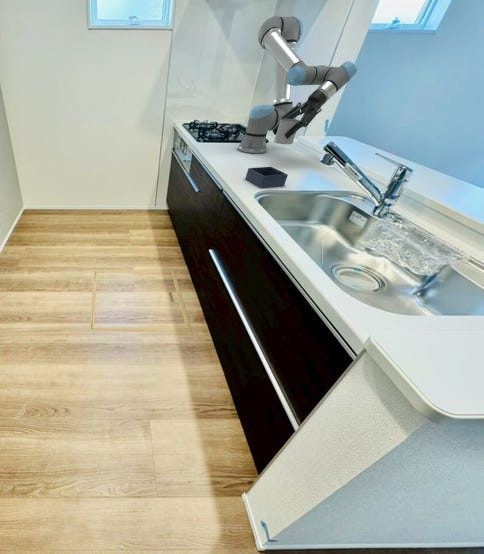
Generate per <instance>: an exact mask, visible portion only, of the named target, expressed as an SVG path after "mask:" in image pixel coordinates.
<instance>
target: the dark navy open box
mask: <svg viewBox="0 0 484 554" xmlns="http://www.w3.org/2000/svg"><path fill="white" fill-rule="evenodd" d="M288 176H289V174H288V173H286V172H283V171H282V170H279V169H277V168H275V167H273V166H259V167H248V168H247V171H246V175H245V180H246V181H248V182H249V183H250V184H253V185H255V186H256V187H258V188H260V189H265V188H275V187H284V186H285V184H286V182H287V179H288Z"/></svg>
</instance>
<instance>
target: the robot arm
mask: <svg viewBox="0 0 484 554" xmlns="http://www.w3.org/2000/svg"><path fill="white" fill-rule="evenodd" d="M303 32H304V23H303V20H302V19H301V18H300V17H297V16H296V17H295V16H277V15H275V16H272V17H269V18H267V19H266V20H264V22H263V23H262V24H261V25H260V28H259V29H258V32H257V40H258V44H259V45H260V47H261V48H262V49H263V50H267V51H268V53H269V54H270V56H272V57H273V59H274V73H273V90H272V91H273V92H272V103H270V104H259V105H256V106H253V107H252V108H251V111H250V114H249V116H248V120H247V126H246V130H245V132H244V136H243V138H242V140H241V142H240V144H238V151H240V152H242V153H246V154H263V153H266V150H267V135H268V132H272V133H273V135H274V136H276V133H277V130H278V126H279V123H280V120H281V119H297V117H298V116H302V117H301V118H300V119H299V120H300V122H299V123H298V124H297V123H296V124H295V125H294V126H293V127H292V128H291V129H290V130H289V131H288V132H287V133H286V134H285V136H286V138H287V139H288V138H289V137H290V136H291V135H293V134H294V133H295V132H296V133H297V132H298V131H299V130H300V129H301V128H307V127H308V126H309V124H310V123H311V122H312V121H313V120H314V119H315V118H316V116H317V115H318V114H319V113H321V112H322V111H323V109H322V107H323V105H325V104H326V103H327V102H328V101H329V100H330V99H331V98H332V97H333V96H334V95H336V93H337V92H339V91H340V90H341V89H342V88H343V87H344V86H345V85H346V84H347V83H349V82H350V81H351V80H352V78H354V77H355V75H356V74H357V72H358V68H357V65H356V63H354V62H353V61H349V60H347V61H344V62H343V63H342V64H341V65H340V66H328V65H324V64H323V65H320V64H319V65H307V64H306V63H305V62H304V61H303V60H302V59H301V57H300V56H299V55H298V53H296V51H295V48H296V47H297V45H298V42H299V41H300V40H301V39H302V35H303ZM292 86H293V87H297V86H298V87H299V86H318V87H317V88H316V89H315V90H314V91H313V92H312V93H311V94H309V96H308V97H307V100H306V101H305V102H303V103H301V102H300V101H298V103H296V105H295V106H293V105H294V101H293V100H292V99H291V89H292Z"/></svg>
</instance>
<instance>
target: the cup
mask: <svg viewBox="0 0 484 554" xmlns="http://www.w3.org/2000/svg"><path fill="white" fill-rule="evenodd" d="M300 120H301V119H297V118H296V119H281V120H280V123H279V126H278V130H277V133H276V135H274V136H275V137H274V140H273V143H274V144H275V143H276V144H279V145H292V144H293V143H294V140H295V137H296V134H297V131H296V132H295V133H294V134H293V135H291V136H290V137H289V138H288V139H287V138H286V136H285V134H286V133H287V132H288V131H289V130H290V129H291V128H292V127H293V126H294V125H295V124H296V123H297V124H298V123H299V122H300Z"/></svg>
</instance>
